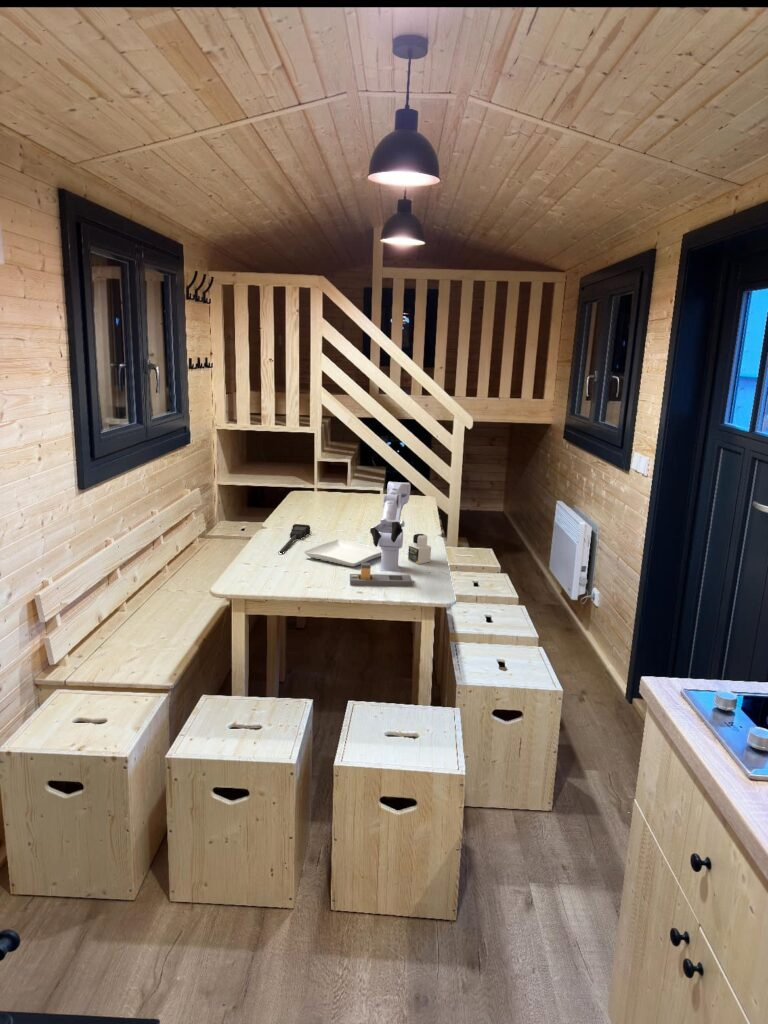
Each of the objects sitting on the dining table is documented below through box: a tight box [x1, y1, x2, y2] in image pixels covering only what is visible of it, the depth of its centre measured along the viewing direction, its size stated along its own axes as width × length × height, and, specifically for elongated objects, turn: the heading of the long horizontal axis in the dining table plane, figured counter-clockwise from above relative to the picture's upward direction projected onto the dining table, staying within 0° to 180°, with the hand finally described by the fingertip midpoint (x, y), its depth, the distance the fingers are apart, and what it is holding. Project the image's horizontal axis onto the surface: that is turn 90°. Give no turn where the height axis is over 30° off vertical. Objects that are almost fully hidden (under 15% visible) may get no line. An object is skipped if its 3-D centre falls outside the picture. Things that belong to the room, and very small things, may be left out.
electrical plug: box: [278, 523, 311, 554], centre depth 331 cm, size 9×42×5 cm, turn 172°
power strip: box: [349, 573, 413, 587], centre depth 278 cm, size 8×24×3 cm, turn 94°
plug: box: [360, 562, 372, 580], centre depth 277 cm, size 4×4×8 cm
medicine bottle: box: [407, 533, 432, 565], centre depth 308 cm, size 7×7×12 cm
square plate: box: [302, 539, 382, 568], centre depth 311 cm, size 27×27×4 cm
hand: (384, 542), depth 272 cm, fingers open, 7 cm apart
